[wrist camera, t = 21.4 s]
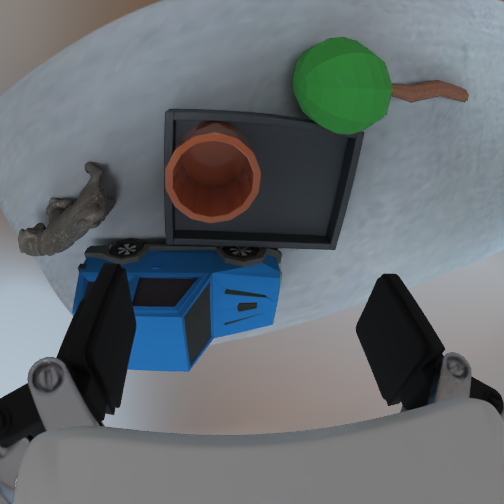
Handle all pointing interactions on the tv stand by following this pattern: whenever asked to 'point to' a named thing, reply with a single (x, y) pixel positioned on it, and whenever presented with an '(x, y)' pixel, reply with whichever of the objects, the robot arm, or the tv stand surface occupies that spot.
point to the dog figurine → (68, 219)
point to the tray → (274, 183)
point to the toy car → (187, 295)
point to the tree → (354, 86)
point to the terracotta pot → (213, 173)
